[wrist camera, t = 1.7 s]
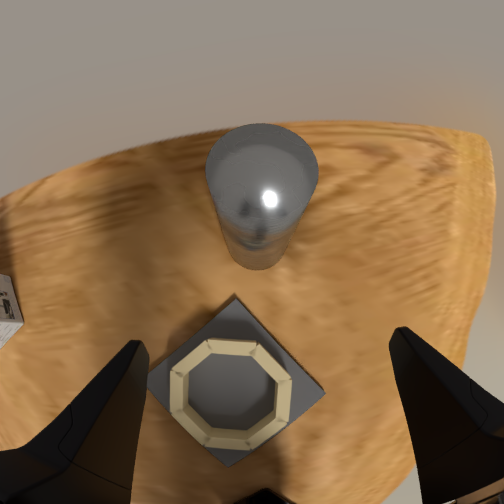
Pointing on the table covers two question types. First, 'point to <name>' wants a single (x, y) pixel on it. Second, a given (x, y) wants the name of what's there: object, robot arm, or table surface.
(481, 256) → the table surface
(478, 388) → the robot arm
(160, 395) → the ring collar
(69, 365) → the table surface
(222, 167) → the piston
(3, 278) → the light bulb box
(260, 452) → the table surface
